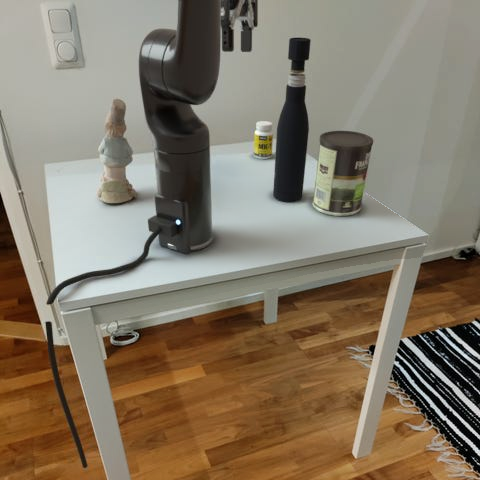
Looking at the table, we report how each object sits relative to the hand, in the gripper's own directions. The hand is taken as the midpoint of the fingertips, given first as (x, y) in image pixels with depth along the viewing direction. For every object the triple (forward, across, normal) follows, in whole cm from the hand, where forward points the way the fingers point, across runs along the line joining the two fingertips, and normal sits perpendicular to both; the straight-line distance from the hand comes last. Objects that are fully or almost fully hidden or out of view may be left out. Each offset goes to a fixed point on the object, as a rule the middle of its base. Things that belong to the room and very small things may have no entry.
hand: (237, 51), depth 94 cm
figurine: (+28, -17, +20) cm, 38 cm away
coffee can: (+28, 0, -23) cm, 37 cm away
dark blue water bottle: (+28, 0, -12) cm, 30 cm away
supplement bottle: (+24, +22, +3) cm, 32 cm away
